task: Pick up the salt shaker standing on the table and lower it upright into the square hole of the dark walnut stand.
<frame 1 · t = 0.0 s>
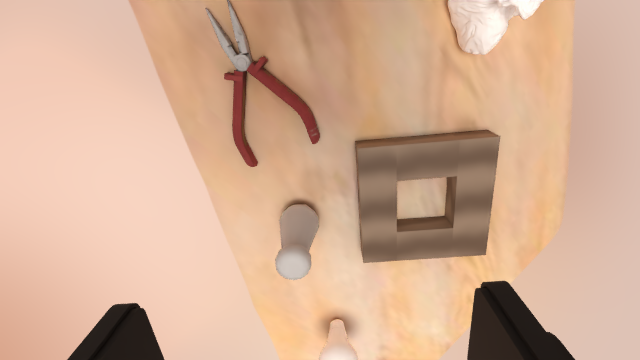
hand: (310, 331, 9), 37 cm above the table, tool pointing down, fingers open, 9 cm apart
pliers: (269, 88, 43), on the table
walnut stand: (419, 194, 48), on the table
lightbulb: (337, 320, 58), on the table
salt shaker: (300, 214, 50), on the table
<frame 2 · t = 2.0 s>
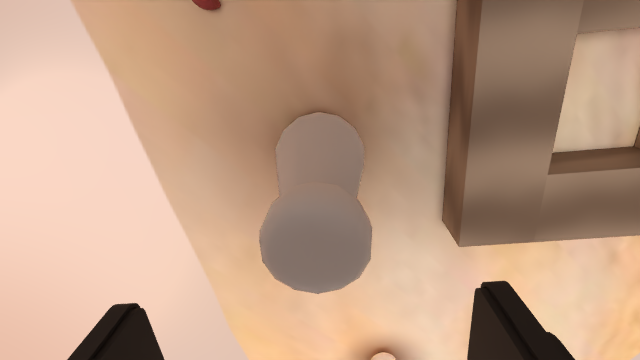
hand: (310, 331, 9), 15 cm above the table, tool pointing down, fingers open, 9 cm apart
walnut stand: (588, 94, 21), on the table
lightbulb: (381, 352, 32), on the table
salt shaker: (320, 144, 23), on the table
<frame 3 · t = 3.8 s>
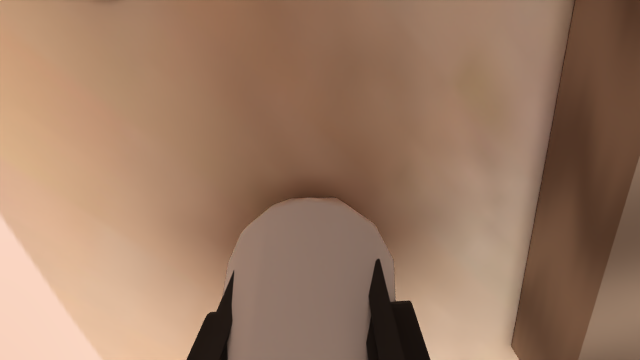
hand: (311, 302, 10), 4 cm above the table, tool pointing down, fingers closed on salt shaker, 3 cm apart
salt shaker: (314, 235, 14), on the table, touching gripper
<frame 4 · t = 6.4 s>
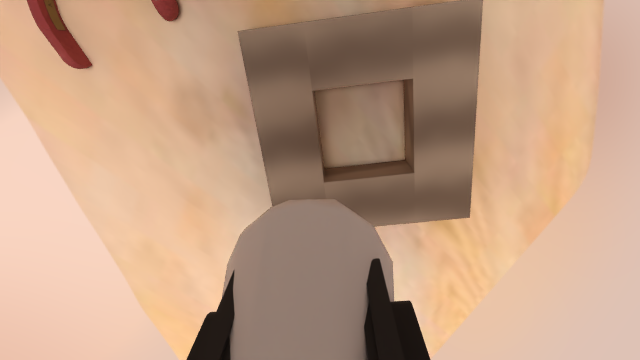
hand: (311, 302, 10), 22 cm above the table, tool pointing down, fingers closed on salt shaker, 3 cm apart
walnut stand: (361, 124, 30), on the table
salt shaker: (313, 236, 14), point 18 cm above the table, touching gripper
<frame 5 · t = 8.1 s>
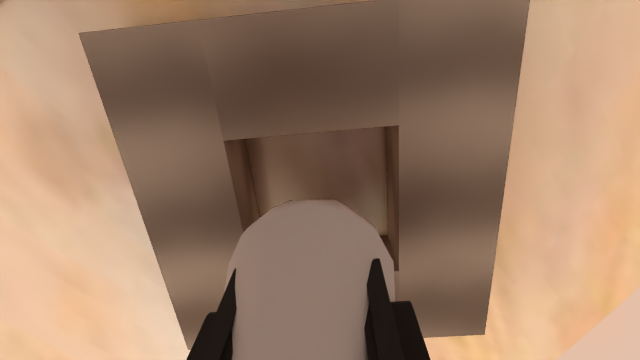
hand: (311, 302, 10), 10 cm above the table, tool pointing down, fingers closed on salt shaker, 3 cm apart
walnut stand: (319, 183, 19), on the table
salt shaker: (314, 237, 14), point 6 cm above the table, touching gripper
when the fingers open (5 cm above the table, at t = 9.4 s): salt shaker stays where it is, resting in walnut stand.
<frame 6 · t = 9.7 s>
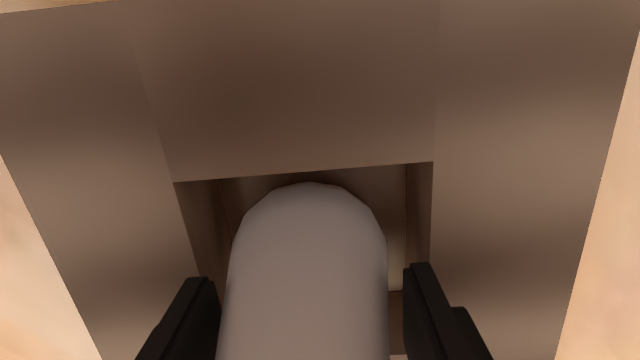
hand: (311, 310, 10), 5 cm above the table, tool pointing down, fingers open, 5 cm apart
walnut stand: (316, 226, 15), on the table
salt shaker: (312, 221, 15), resting in walnut stand
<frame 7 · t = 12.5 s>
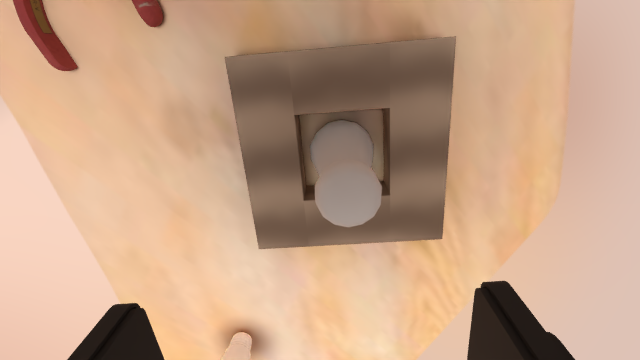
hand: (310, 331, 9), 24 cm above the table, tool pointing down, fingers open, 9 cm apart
walnut stand: (342, 146, 32), on the table
lightbulb: (244, 333, 41), on the table
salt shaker: (340, 144, 32), resting in walnut stand
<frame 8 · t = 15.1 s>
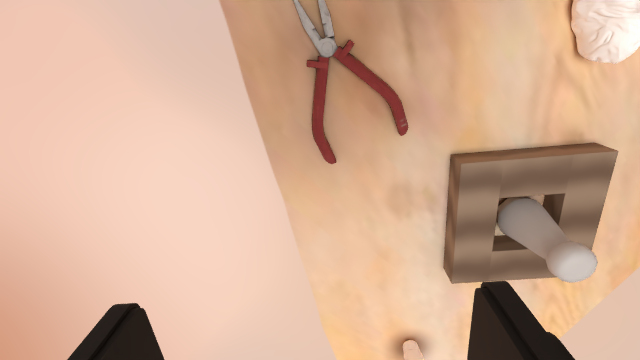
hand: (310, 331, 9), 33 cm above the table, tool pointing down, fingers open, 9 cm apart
bust: (598, 3, 35), on the table
pliers: (351, 76, 39), on the table
walnut stand: (512, 210, 45), on the table
lightbulb: (408, 340, 55), on the table
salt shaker: (510, 209, 45), resting in walnut stand
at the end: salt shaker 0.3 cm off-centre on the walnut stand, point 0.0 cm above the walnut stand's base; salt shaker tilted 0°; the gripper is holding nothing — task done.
